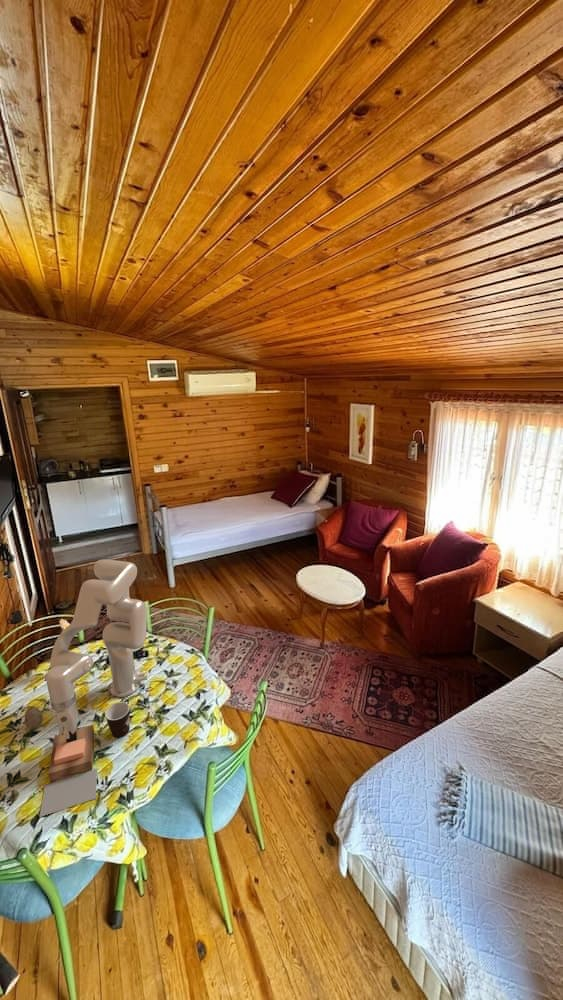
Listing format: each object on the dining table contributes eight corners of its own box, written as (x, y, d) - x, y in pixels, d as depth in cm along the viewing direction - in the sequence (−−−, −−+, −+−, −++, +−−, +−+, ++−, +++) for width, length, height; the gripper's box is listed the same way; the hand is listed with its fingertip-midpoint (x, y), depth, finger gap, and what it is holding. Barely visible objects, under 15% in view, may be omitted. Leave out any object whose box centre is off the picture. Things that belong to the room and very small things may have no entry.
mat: (97, 769, 141) (97, 768, 141) (95, 798, 131) (95, 798, 131) (45, 785, 136) (44, 784, 136) (39, 817, 126) (39, 817, 126)
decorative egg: (46, 720, 161) (42, 700, 158) (41, 732, 155) (36, 712, 152) (30, 722, 160) (25, 702, 157) (24, 735, 154) (18, 714, 151)
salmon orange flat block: (85, 742, 147) (84, 738, 146) (83, 756, 141) (83, 752, 141) (57, 749, 144) (56, 745, 143) (54, 764, 138) (53, 760, 138)
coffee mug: (118, 744, 150) (114, 723, 147) (103, 734, 155) (100, 713, 151) (143, 722, 160) (140, 702, 156) (129, 713, 164) (126, 693, 161)
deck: (94, 732, 155) (93, 724, 154) (92, 769, 141) (90, 760, 140) (56, 743, 151) (54, 735, 150) (50, 782, 137) (48, 773, 135)
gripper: (73, 712, 136) (81, 754, 141) (77, 682, 149) (85, 721, 154) (48, 719, 133) (57, 761, 139) (54, 687, 146) (63, 727, 152)
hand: (72, 740), depth 147 cm, fingers closed
